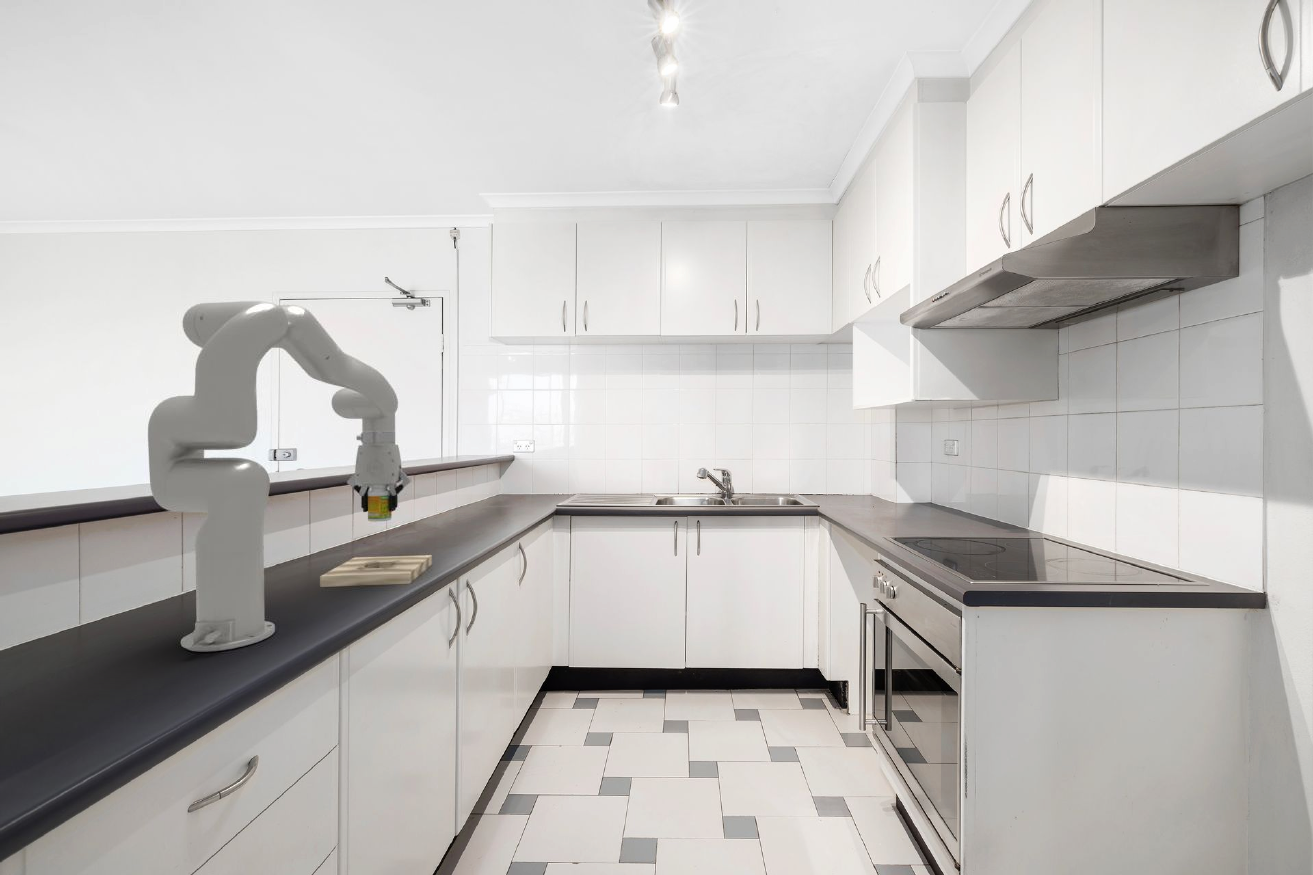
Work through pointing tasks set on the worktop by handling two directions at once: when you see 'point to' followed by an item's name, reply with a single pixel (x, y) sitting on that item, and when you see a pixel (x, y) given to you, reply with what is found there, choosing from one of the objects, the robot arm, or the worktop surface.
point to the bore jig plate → (377, 571)
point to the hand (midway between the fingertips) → (379, 510)
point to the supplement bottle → (379, 503)
